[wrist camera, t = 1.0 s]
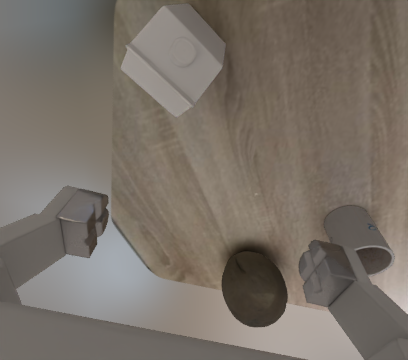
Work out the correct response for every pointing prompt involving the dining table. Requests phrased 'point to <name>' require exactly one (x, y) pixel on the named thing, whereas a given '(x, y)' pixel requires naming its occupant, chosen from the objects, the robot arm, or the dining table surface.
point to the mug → (359, 237)
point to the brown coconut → (254, 289)
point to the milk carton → (175, 57)
